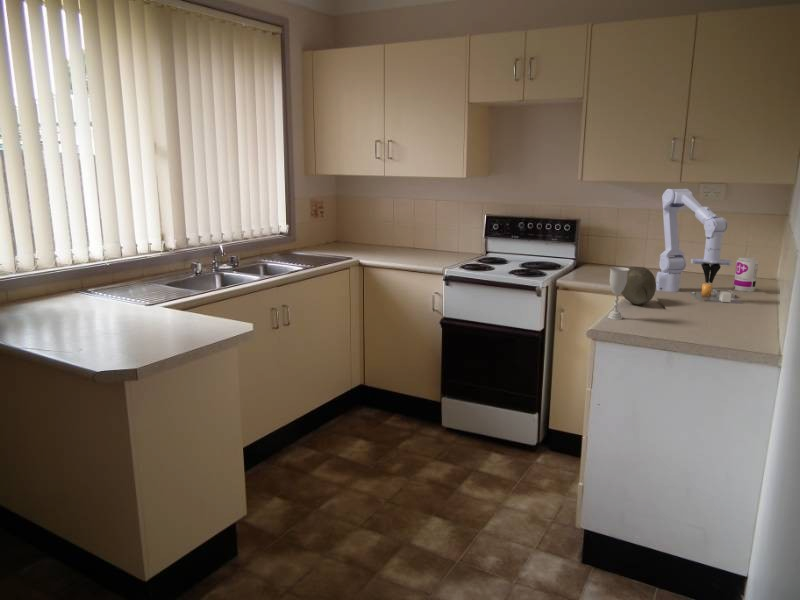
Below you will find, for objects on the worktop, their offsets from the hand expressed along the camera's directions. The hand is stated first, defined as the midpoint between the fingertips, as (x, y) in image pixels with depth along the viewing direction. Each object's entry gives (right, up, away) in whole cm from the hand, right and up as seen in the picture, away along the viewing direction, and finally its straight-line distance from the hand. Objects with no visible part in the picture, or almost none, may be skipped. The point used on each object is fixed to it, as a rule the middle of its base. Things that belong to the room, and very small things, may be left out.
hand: (708, 282), depth 252 cm
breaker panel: (+6, -7, +7) cm, 11 cm away
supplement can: (+27, -4, +24) cm, 36 cm away
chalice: (-45, -14, -23) cm, 53 cm away
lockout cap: (+4, -5, +10) cm, 12 cm away
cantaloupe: (-30, -9, -1) cm, 31 cm away
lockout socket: (+11, -5, +11) cm, 16 cm away
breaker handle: (+7, -8, 0) cm, 10 cm away
